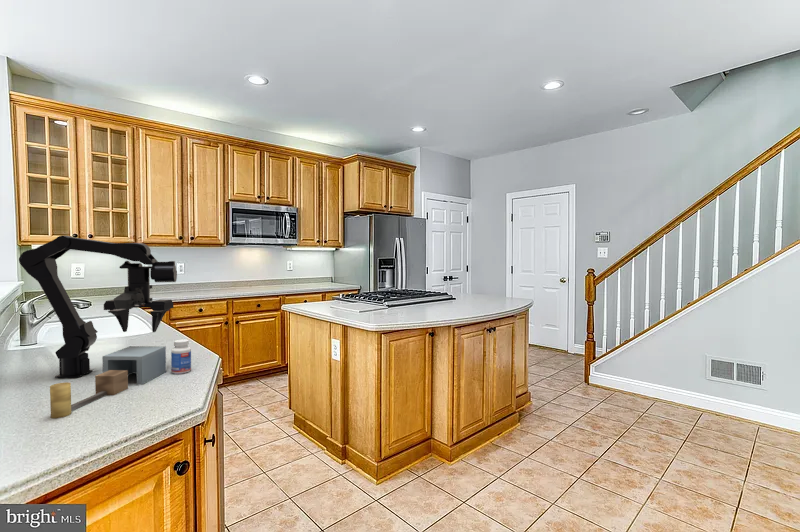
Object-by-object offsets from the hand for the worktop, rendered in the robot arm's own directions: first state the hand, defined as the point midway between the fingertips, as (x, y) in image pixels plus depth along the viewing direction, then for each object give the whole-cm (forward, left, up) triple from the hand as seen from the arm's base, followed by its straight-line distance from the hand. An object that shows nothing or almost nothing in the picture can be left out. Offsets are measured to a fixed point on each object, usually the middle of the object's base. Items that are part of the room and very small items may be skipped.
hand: (139, 331), depth 124 cm
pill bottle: (+14, -2, -12) cm, 19 cm away
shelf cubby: (+4, -9, -12) cm, 15 cm away
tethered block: (+5, -26, -12) cm, 29 cm away
